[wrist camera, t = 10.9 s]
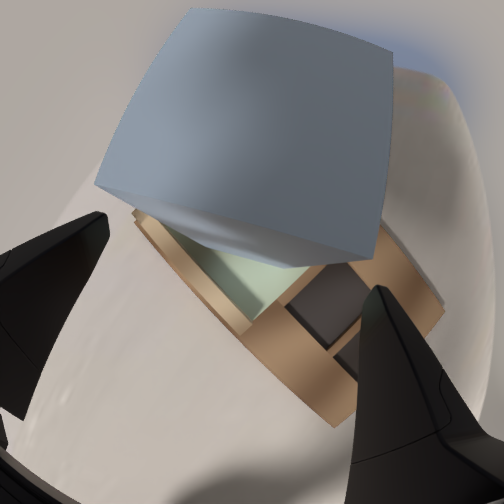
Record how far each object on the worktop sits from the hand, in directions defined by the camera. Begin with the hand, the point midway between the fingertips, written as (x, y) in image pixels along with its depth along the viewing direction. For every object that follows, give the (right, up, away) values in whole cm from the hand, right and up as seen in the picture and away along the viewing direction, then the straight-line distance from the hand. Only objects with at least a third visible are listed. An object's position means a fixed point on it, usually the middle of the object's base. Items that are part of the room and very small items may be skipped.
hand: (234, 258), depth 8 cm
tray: (+4, -1, +9) cm, 10 cm away
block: (+1, +2, +9) cm, 9 cm away
